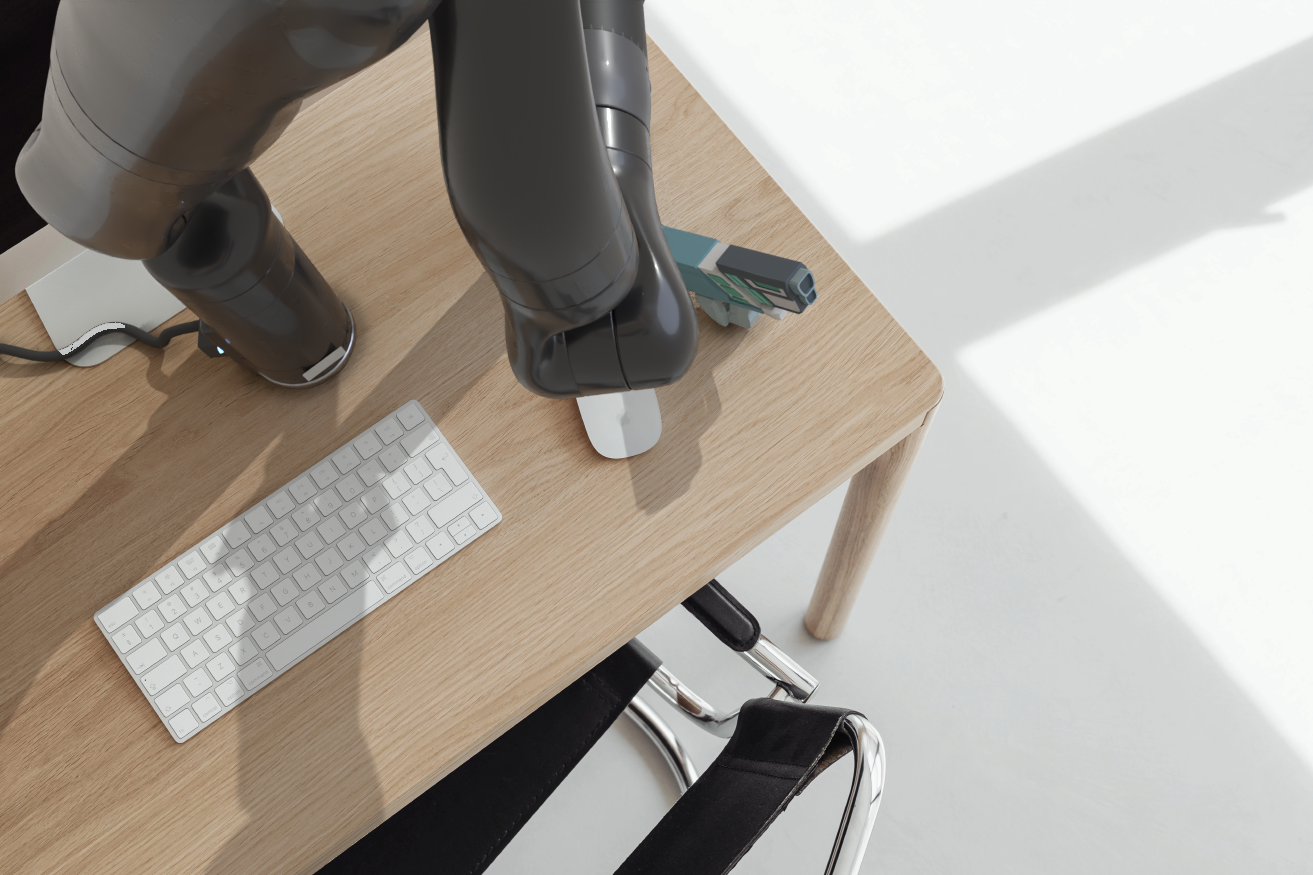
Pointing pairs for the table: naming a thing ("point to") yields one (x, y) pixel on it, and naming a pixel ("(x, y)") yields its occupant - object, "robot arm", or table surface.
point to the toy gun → (740, 279)
